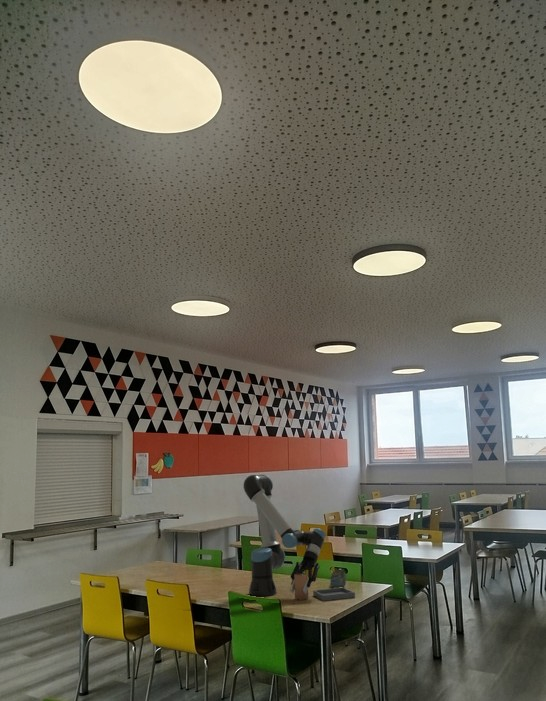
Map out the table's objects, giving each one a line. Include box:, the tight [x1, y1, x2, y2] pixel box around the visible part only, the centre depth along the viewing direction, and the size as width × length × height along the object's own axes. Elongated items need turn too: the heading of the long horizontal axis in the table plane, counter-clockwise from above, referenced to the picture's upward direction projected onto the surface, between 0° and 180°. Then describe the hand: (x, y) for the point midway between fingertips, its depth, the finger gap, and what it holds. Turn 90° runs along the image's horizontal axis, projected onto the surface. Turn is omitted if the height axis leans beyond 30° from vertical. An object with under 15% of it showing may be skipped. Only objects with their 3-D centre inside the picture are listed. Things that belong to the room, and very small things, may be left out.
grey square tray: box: [312, 587, 356, 601], centre depth 295 cm, size 15×18×2 cm
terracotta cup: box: [294, 572, 309, 601], centre depth 294 cm, size 7×7×12 cm
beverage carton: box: [330, 570, 347, 588], centre depth 327 cm, size 8×19×7 cm, turn 170°
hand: (298, 591), depth 291 cm, fingers closed on terracotta cup, 7 cm apart
